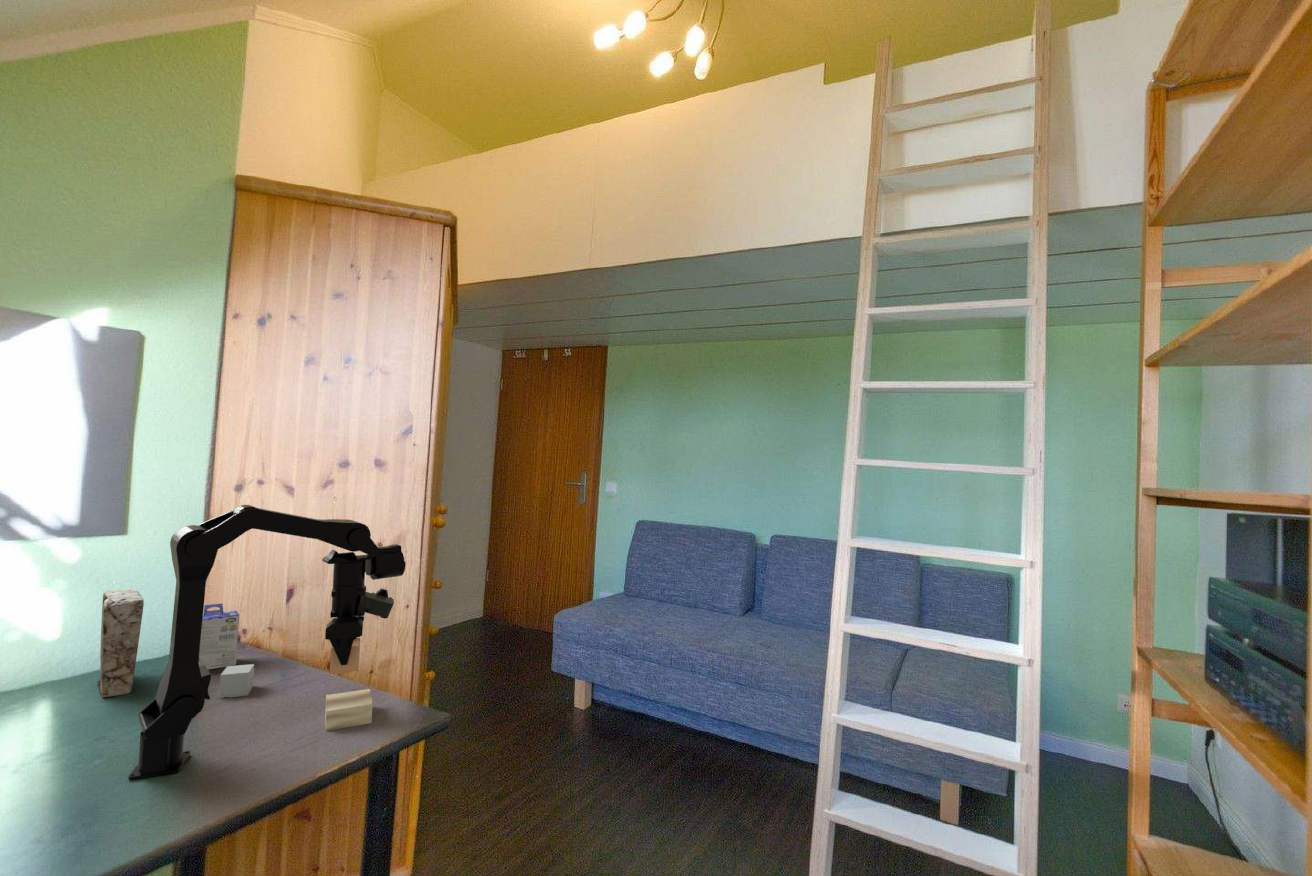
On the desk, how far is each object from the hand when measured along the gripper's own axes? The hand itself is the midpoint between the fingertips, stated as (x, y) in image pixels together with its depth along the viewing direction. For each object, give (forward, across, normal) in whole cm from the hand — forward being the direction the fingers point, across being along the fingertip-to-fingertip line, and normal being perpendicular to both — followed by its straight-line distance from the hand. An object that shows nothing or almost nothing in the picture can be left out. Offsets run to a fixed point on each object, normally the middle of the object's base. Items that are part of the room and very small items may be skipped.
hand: (345, 660), depth 117 cm
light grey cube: (+11, +19, +22) cm, 31 cm away
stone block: (+11, +30, +45) cm, 55 cm away
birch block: (+12, -1, -1) cm, 12 cm away
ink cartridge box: (+11, +37, +30) cm, 49 cm away
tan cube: (+2, 0, 0) cm, 2 cm away
